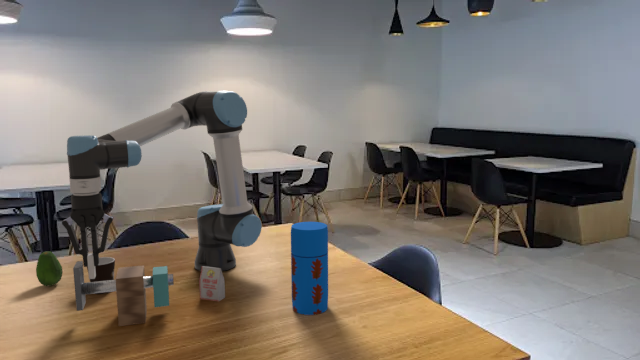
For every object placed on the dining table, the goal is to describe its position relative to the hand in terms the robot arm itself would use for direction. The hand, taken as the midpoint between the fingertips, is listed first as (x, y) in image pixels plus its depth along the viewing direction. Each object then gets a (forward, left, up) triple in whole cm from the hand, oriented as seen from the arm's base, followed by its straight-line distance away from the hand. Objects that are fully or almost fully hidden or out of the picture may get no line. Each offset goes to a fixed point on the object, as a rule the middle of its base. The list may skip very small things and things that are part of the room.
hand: (92, 277), depth 140 cm
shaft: (-9, 0, -8) cm, 12 cm away
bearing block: (-10, 0, -13) cm, 16 cm away
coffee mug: (0, -27, -13) cm, 30 cm away
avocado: (+18, -36, -13) cm, 42 cm away
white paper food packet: (-33, -8, -13) cm, 36 cm away
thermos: (-60, +9, -13) cm, 62 cm away
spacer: (-18, 0, -9) cm, 20 cm away
